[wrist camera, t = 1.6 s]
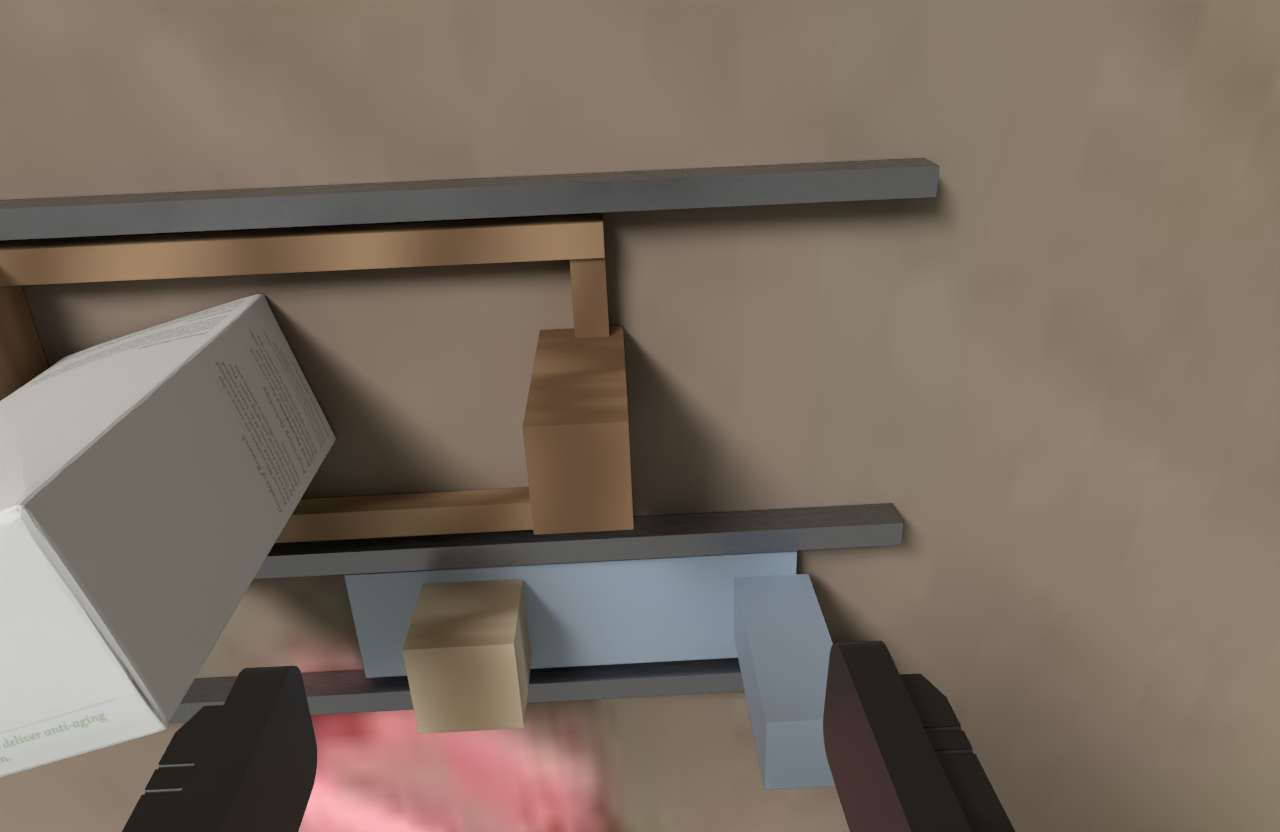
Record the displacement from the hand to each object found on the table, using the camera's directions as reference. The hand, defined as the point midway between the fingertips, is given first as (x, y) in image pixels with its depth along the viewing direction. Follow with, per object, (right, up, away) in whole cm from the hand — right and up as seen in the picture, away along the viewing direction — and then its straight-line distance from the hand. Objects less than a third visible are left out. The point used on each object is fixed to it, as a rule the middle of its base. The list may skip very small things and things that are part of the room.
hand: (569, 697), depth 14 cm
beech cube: (-6, -4, +23) cm, 24 cm away
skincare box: (-15, +5, +20) cm, 26 cm away
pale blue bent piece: (-1, -3, +24) cm, 25 cm away
